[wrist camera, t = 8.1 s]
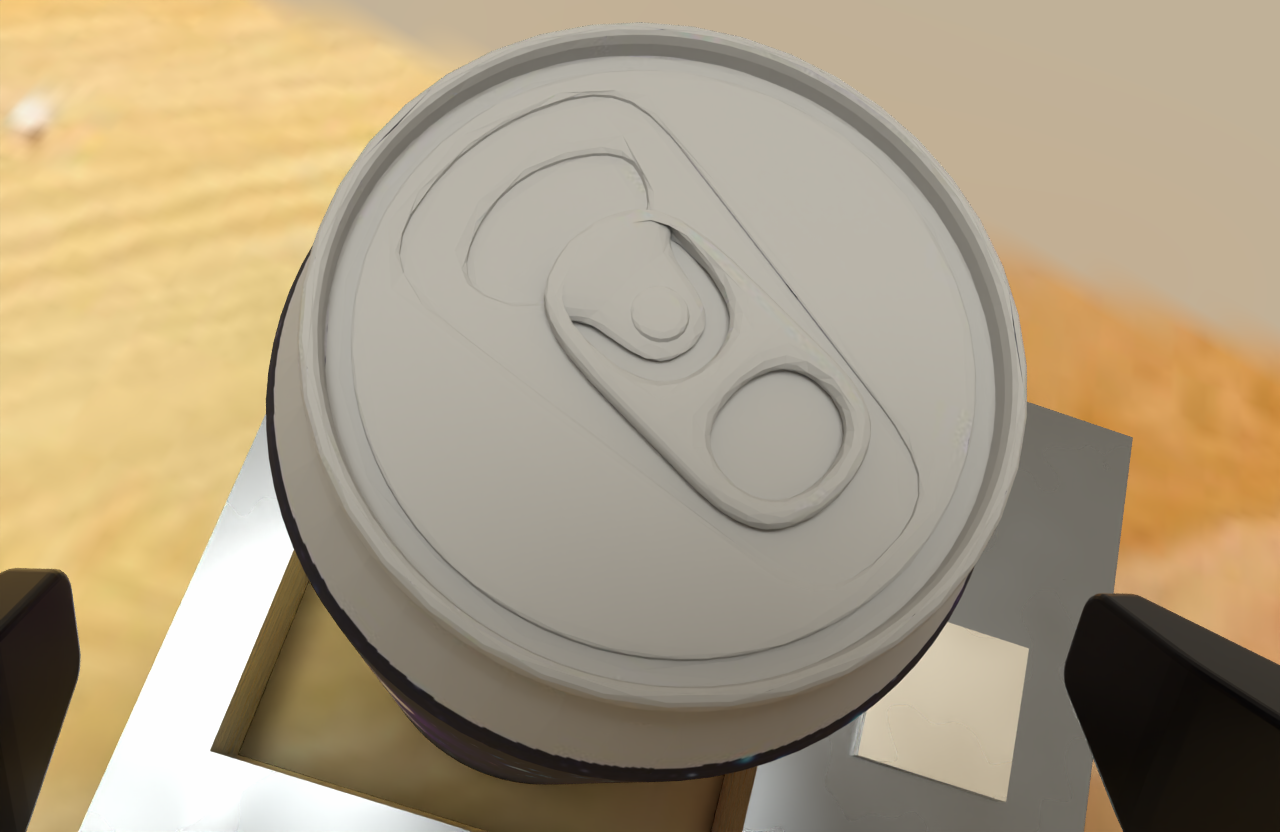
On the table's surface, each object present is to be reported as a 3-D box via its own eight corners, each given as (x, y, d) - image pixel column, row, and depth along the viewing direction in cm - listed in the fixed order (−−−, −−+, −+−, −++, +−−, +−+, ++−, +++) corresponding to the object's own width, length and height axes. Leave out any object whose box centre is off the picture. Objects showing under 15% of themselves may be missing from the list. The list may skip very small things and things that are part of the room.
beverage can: (553, 389, 20) (678, -144, 8) (773, 616, 19) (1236, 365, 8) (302, 601, 18) (29, 278, 6) (536, 863, 17) (686, 1014, 6)
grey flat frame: (1072, 468, 21) (1139, 433, 19) (979, 1104, 17) (1052, 1149, 15) (379, 236, 20) (369, 173, 18) (114, 843, 16) (63, 853, 14)
